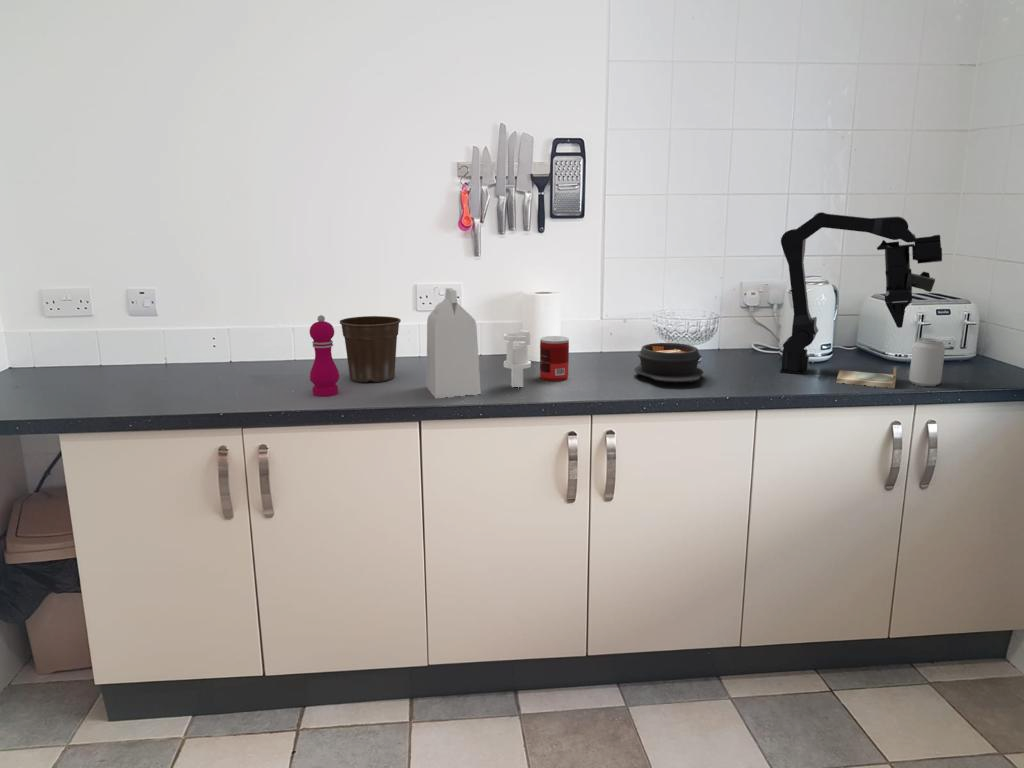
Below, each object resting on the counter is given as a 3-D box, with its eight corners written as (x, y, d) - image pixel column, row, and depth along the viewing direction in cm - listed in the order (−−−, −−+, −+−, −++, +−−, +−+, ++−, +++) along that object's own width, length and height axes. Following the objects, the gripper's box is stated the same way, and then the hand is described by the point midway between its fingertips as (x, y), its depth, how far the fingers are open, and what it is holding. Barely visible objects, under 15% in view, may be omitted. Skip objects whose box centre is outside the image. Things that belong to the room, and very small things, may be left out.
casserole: (626, 368, 229) (626, 339, 227) (689, 367, 230) (691, 338, 228) (644, 389, 205) (645, 357, 203) (715, 388, 206) (717, 356, 204)
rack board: (836, 382, 211) (837, 371, 210) (839, 374, 220) (840, 363, 219) (894, 388, 205) (896, 376, 204) (895, 379, 214) (896, 367, 214)
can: (944, 388, 205) (950, 342, 202) (912, 386, 206) (918, 341, 203) (935, 381, 212) (941, 337, 209) (905, 380, 213) (910, 336, 211)
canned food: (572, 376, 219) (573, 337, 216) (561, 382, 212) (562, 342, 209) (546, 373, 222) (547, 335, 219) (535, 379, 215) (535, 339, 212)
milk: (480, 395, 199) (479, 291, 193) (435, 398, 196) (432, 293, 190) (469, 384, 211) (467, 286, 204) (426, 387, 207) (423, 287, 201)
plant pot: (369, 369, 228) (366, 313, 224) (414, 375, 220) (412, 318, 217) (330, 380, 215) (326, 321, 211) (376, 388, 207) (374, 326, 203)
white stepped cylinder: (522, 391, 203) (522, 333, 199) (498, 387, 206) (498, 331, 203) (535, 385, 209) (535, 329, 205) (512, 382, 212) (511, 326, 209)
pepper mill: (313, 390, 204) (308, 313, 200) (341, 389, 205) (337, 312, 200) (308, 397, 197) (303, 317, 193) (338, 396, 198) (333, 317, 193)
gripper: (933, 265, 195) (935, 328, 198) (931, 259, 211) (933, 317, 214) (883, 269, 200) (886, 331, 203) (885, 263, 216) (887, 320, 219)
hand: (900, 324), depth 209 cm, fingers open, 9 cm apart
